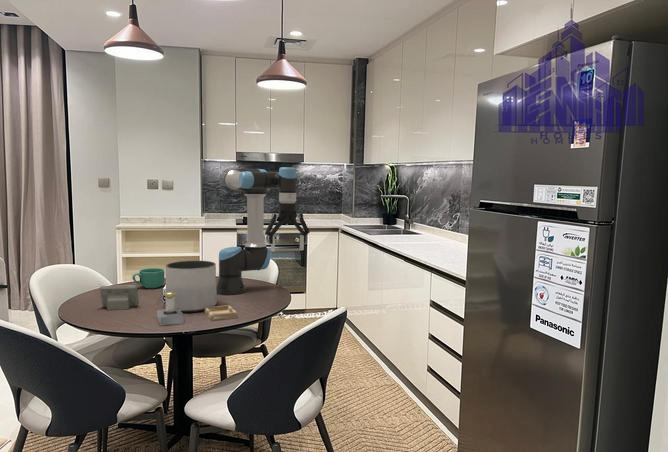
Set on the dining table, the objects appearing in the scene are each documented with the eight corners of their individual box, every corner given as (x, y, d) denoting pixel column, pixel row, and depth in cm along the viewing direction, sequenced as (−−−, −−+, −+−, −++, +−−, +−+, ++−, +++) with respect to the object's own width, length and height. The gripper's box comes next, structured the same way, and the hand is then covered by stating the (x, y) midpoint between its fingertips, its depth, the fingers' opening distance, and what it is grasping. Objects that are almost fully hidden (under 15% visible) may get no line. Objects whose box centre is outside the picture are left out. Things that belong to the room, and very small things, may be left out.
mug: (161, 283, 273) (160, 267, 272) (167, 288, 263) (167, 270, 262) (129, 287, 263) (129, 270, 263) (135, 291, 253) (134, 273, 252)
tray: (204, 312, 215) (204, 307, 215) (229, 309, 220) (229, 304, 220) (211, 320, 203) (211, 315, 203) (237, 317, 208) (237, 312, 208)
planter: (217, 300, 238) (216, 259, 236) (216, 312, 216) (215, 268, 214) (169, 302, 233) (168, 260, 231) (162, 314, 211) (161, 269, 209)
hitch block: (157, 318, 206) (157, 310, 205) (179, 315, 210) (179, 307, 209) (160, 326, 195) (160, 317, 195) (183, 323, 199) (183, 315, 199)
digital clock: (141, 305, 226) (140, 283, 225) (132, 310, 217) (132, 287, 216) (106, 305, 226) (105, 282, 225) (96, 310, 217) (96, 286, 216)
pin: (163, 319, 203) (162, 291, 202) (175, 318, 206) (175, 290, 204) (164, 323, 199) (164, 294, 198) (177, 321, 201) (176, 293, 200)
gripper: (263, 203, 204) (263, 253, 206) (317, 202, 215) (316, 250, 217) (257, 202, 211) (257, 250, 213) (310, 201, 222) (309, 247, 224)
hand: (287, 250), depth 215 cm, fingers open, 13 cm apart
